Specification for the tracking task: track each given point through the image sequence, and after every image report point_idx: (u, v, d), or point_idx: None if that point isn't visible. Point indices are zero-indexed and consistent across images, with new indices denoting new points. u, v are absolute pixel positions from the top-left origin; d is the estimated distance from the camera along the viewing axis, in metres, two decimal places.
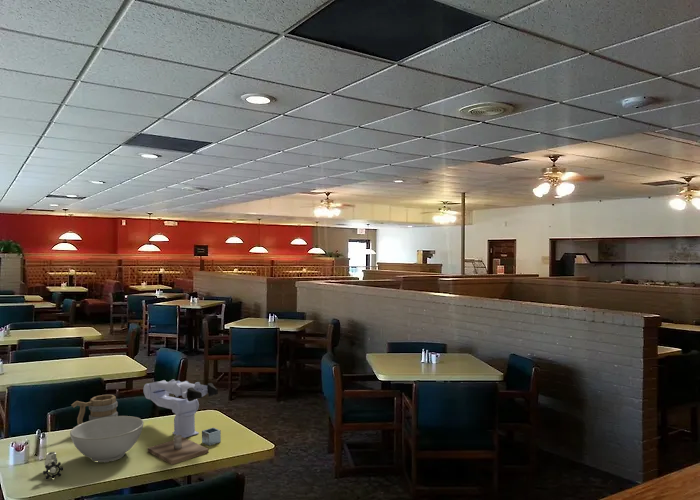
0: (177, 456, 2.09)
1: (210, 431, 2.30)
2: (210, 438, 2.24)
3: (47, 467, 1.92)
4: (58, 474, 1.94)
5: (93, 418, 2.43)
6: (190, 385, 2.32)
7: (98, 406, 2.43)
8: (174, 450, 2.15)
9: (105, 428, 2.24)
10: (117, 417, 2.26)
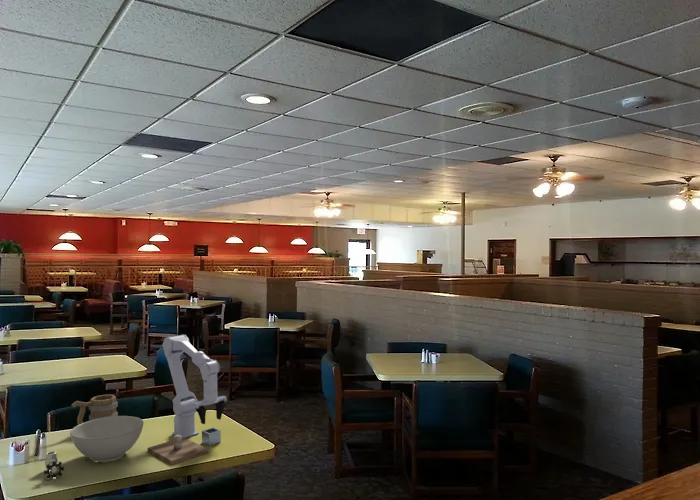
0: (177, 456, 2.09)
1: (210, 431, 2.30)
2: (210, 438, 2.24)
3: (48, 466, 1.92)
4: (59, 473, 1.94)
5: (93, 418, 2.43)
6: (211, 393, 2.25)
7: (98, 406, 2.43)
8: (174, 450, 2.15)
9: (105, 428, 2.24)
10: (117, 417, 2.26)
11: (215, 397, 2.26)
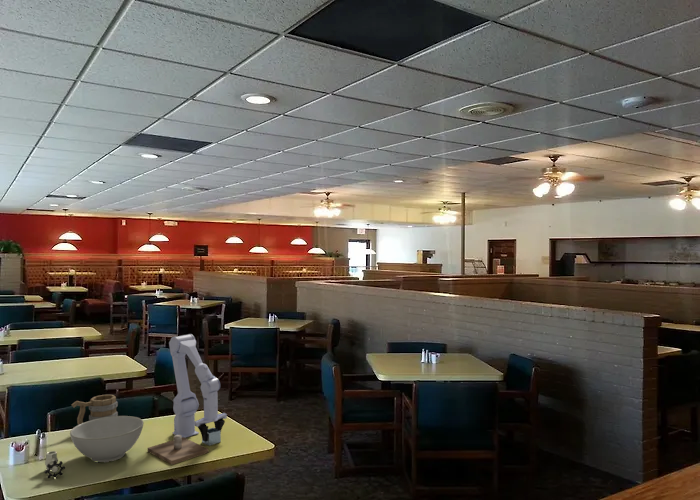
0: (177, 456, 2.09)
1: (210, 431, 2.30)
2: (210, 438, 2.24)
3: (49, 466, 1.93)
4: (60, 473, 1.95)
5: (93, 418, 2.43)
6: (211, 411, 2.25)
7: (98, 406, 2.43)
8: (174, 450, 2.15)
9: (105, 428, 2.24)
10: (117, 417, 2.26)
11: (215, 415, 2.26)
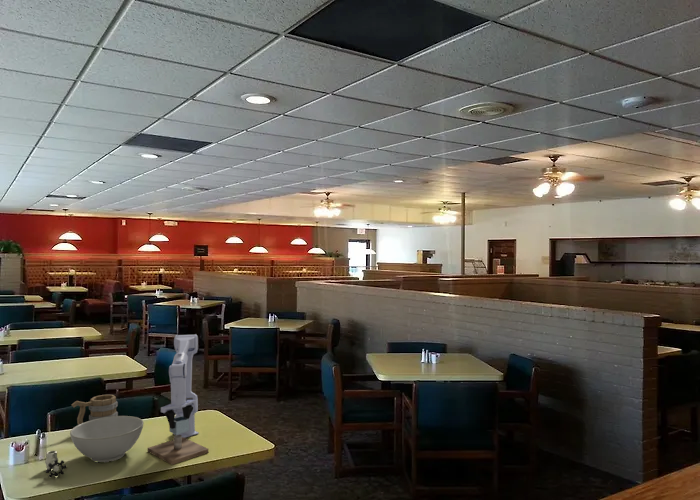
0: (177, 456, 2.09)
1: (178, 419, 2.20)
2: (177, 427, 2.14)
3: (50, 465, 1.93)
4: (61, 472, 1.95)
5: (93, 418, 2.43)
6: (178, 397, 2.15)
7: (98, 406, 2.43)
8: (174, 450, 2.15)
9: (105, 428, 2.24)
10: (117, 417, 2.26)
11: (183, 401, 2.16)
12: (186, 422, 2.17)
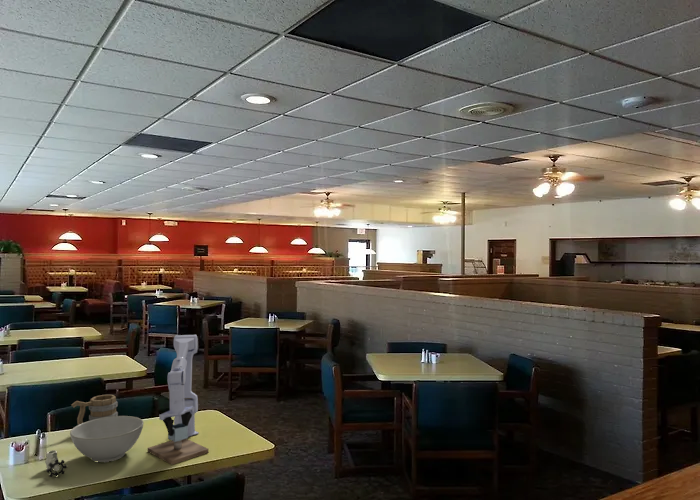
0: (177, 456, 2.09)
1: (177, 426, 2.19)
2: (176, 434, 2.14)
3: (51, 465, 1.94)
4: (62, 472, 1.96)
5: (93, 418, 2.43)
6: (177, 404, 2.15)
7: (98, 406, 2.43)
8: (174, 450, 2.15)
9: (105, 428, 2.24)
10: (117, 417, 2.26)
11: (182, 408, 2.16)
12: (185, 429, 2.16)
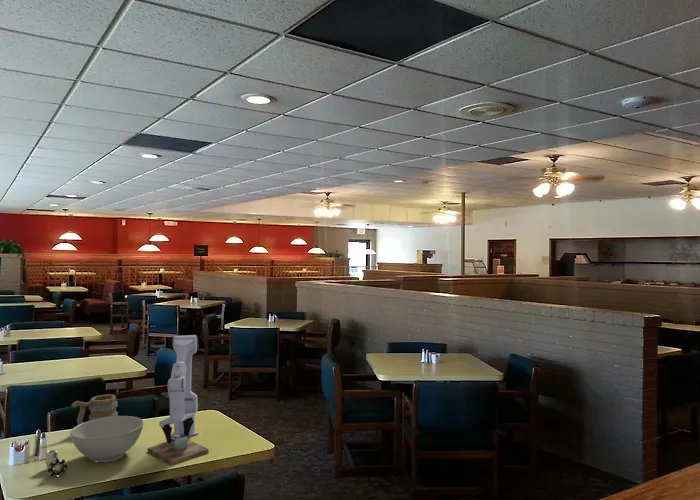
0: (177, 456, 2.09)
1: None
2: (176, 444, 2.14)
3: (52, 464, 1.94)
4: (62, 471, 1.96)
5: (93, 418, 2.43)
6: (177, 411, 2.15)
7: (98, 406, 2.43)
8: None
9: (105, 428, 2.24)
10: (117, 417, 2.26)
11: (182, 415, 2.16)
12: (185, 439, 2.17)
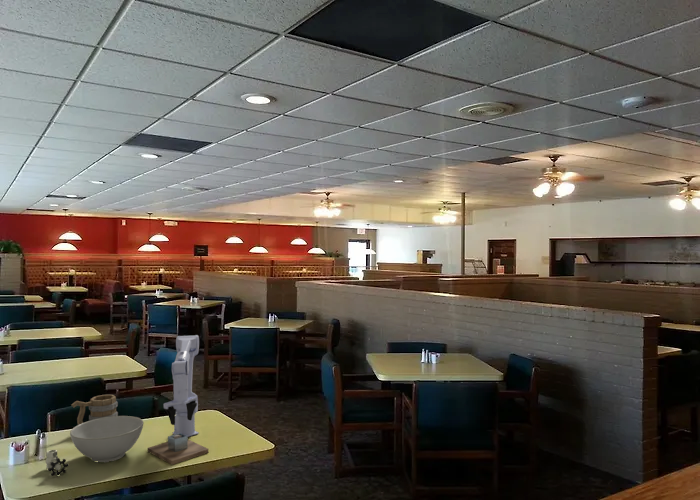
0: (177, 456, 2.09)
1: None
2: (176, 444, 2.14)
3: (53, 464, 1.94)
4: (63, 470, 1.97)
5: (93, 418, 2.43)
6: (181, 393, 2.20)
7: (98, 406, 2.43)
8: None
9: (105, 428, 2.24)
10: (117, 417, 2.26)
11: (185, 397, 2.21)
12: (185, 439, 2.17)
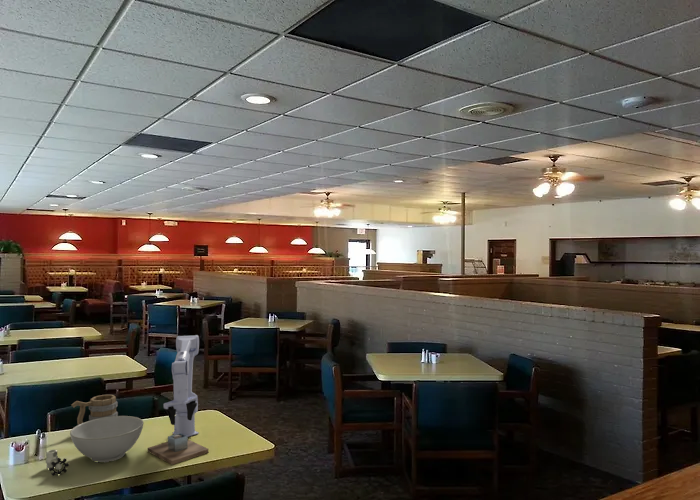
0: (177, 456, 2.09)
1: None
2: (176, 444, 2.14)
3: (53, 463, 1.95)
4: (64, 470, 1.97)
5: (93, 418, 2.43)
6: (181, 393, 2.20)
7: (98, 406, 2.43)
8: None
9: (105, 428, 2.24)
10: (117, 417, 2.26)
11: (185, 397, 2.21)
12: (185, 439, 2.17)
